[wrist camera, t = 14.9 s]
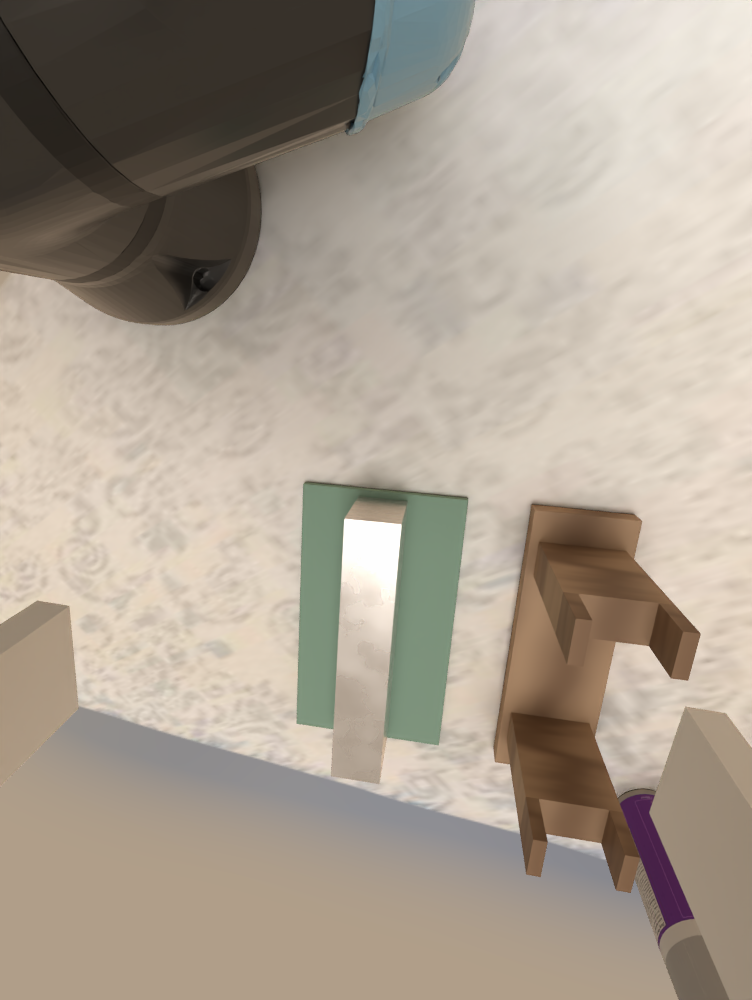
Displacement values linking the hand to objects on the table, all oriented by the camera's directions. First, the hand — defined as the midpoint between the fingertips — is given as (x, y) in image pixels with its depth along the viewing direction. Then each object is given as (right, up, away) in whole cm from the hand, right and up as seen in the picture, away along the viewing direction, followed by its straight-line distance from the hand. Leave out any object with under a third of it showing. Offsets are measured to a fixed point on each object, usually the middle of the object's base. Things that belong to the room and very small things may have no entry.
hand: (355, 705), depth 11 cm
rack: (+14, -6, +28) cm, 32 cm away
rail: (0, -5, +29) cm, 30 cm away
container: (+22, -21, +32) cm, 44 cm away
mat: (0, -5, +30) cm, 30 cm away
